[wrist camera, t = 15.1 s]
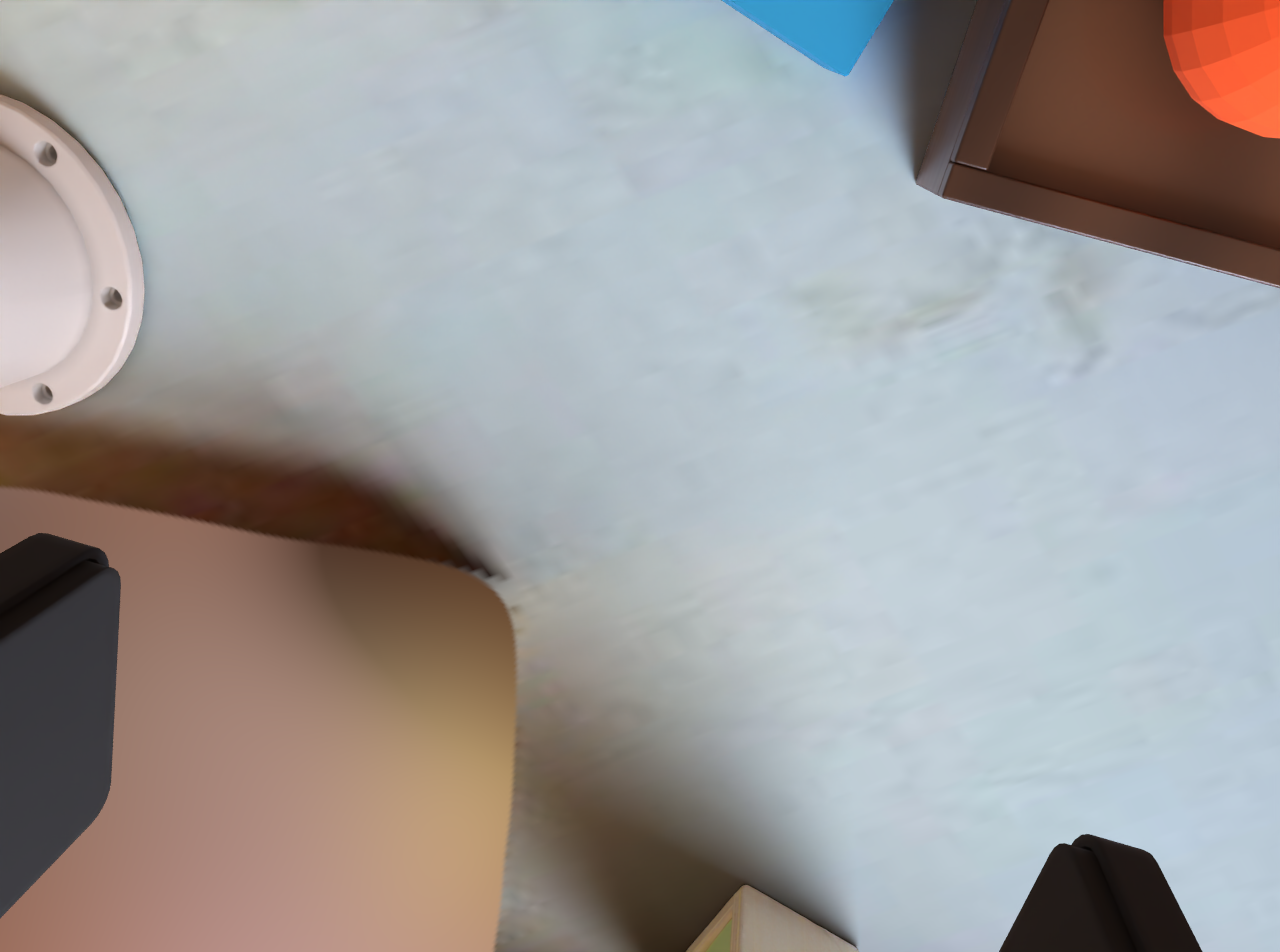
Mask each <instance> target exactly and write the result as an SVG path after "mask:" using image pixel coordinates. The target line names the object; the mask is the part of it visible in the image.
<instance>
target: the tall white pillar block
mask: <svg viewBox="0 0 1280 952" xmlns="http://www.w3.org/2000/svg"><path fill="white" fill-rule="evenodd" d="M686 952H859V951H858V949H857V948H855V947H854V946H853V945H851V944H849V943H848V942H846V941H844V940H842V939H841V938H839V937H837V936H835V935H834V934H832V933H830V932H829V931H827V930H825V929H824V928H822V927H820V926H818V925H816V924H814V923H813V922H811V921H810V920H808V919H807V918H805V917H803V916H801V915H799V914H798V913H796V912H794V911H792V910H791V909H789V908H787V907H785V906H784V905H782V904H780V903H778V902H777V901H775V900H773V899H772V898H770V897H768V896H766V895H765V894H763V893H761V892H759V891H758V890H756V889H754V888H752V887H750V886H749V885H744V886H742V887H741V888H740V889H739V890H738V891H737V892H736V893H735V894H734V895H733V897H732V898H731V899H730V900H729V901H728V902H727V903H726V905H725V906H724V907H723V908H722V909H721V911H720V912H719V913H718V914H717V916H716V917H715V918H714V919H713V920H712V921H711V922H710V924H709V925H708V926H707V927H706V928H705V929H704V931H703V932H702V933H701V934H700V935H699V936H698V938H697V939H696V940H695V941H694V942H693V944H692V945H691V946H690V947H689V948H688V950H687V951H686Z"/></svg>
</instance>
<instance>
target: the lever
mask: <svg viewBox="0 0 1280 952" xmlns="http://www.w3.org/2000/svg"><path fill="white" fill-rule="evenodd" d="M722 1H723V2H725V3H726V4H728V5H729V6H731V7H732V8H734V9H735V10H737V11H738V12H740V13H741V14H743V15H745V16H746V17H748V18H749V19H751V20H752V21H754V22H755V23H757V24H758V25H760V26H761V27H763V28H764V29H766V30H767V31H769V32H770V33H772V34H773V35H775V36H776V37H778V38H779V39H781V40H782V41H784V42H785V43H787V44H789V45H790V46H792V47H793V48H795V49H796V50H798V51H799V52H801V53H802V54H804V55H805V56H807V57H808V58H810V59H811V60H813V61H814V62H816V63H817V64H819V65H820V66H822V67H823V68H826V69H828V70H831V71H833V72H836V73H838V74H841V75H843V76H847V75H849V73H850V71H851V70H852V68H853V66H854V65H855V63H856V61H857V60H858V58H859V57H860V55H861V53H862V52H863V50H864V48H865V47H866V45H867V44H868V42H869V40H870V39H871V37H872V35H873V34H874V32H875V30H876V29H877V27H878V26H879V24H880V22H881V21H882V19H883V17H884V16H885V14H886V12H887V11H888V9H889V8H890V6H891V4H892V3H893V1H894V0H722Z"/></svg>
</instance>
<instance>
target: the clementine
mask: <svg viewBox="0 0 1280 952" xmlns="http://www.w3.org/2000/svg"><path fill="white" fill-rule="evenodd" d="M1163 25H1164V39H1165V43H1166V46H1167V50H1168V53H1169V57H1170V60H1171V64H1172V67H1173V70H1174V72H1175V73H1176V75H1177V77H1178V78H1179V80H1180V81H1181V83H1182V84H1183V86H1184V87H1185V89H1186V90H1187V92H1188V93H1189V95H1190V96H1191V98H1192V99H1193V100H1195V101H1196V102H1197V103H1198V104H1200V105H1201V106H1202V107H1203V108H1204V109H1206V110H1207V111H1208V112H1209V113H1211V114H1212V115H1213V116H1214V117H1216V118H1217V119H1219V120H1221V121H1224V122H1226V123H1229V124H1231V125H1234V126H1236V127H1239V128H1242V129H1244V130H1247V131H1249V132H1252V133H1254V134H1257V135H1260V136H1262V137H1269V138H1280V0H1163Z"/></svg>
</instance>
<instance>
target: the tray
mask: <svg viewBox="0 0 1280 952" xmlns="http://www.w3.org/2000/svg"><path fill="white" fill-rule="evenodd" d="M916 184H917V185H919V186H921V187H923V188H925V189H927V190H929V191H930V192H932V193H934V194H936V195H938V196H940V197H942V198H944V199H948V200H952V201H956V202H959V203H963V204H967V205H971V206H974V207H978V208H982V209H986V210H989V211H993V212H997V213H1001V214H1004V215H1008V216H1012V217H1016V218H1019V219H1023V220H1027V221H1030V222H1034V223H1038V224H1042V225H1045V226H1049V227H1053V228H1057V229H1060V230H1064V231H1068V232H1072V233H1075V234H1079V235H1083V236H1087V237H1090V238H1094V239H1098V240H1102V241H1105V242H1109V243H1113V244H1116V245H1120V246H1124V247H1128V248H1131V249H1135V250H1139V251H1143V252H1146V253H1150V254H1154V255H1158V256H1161V257H1165V258H1169V259H1173V260H1176V261H1180V262H1184V263H1188V264H1191V265H1195V266H1199V267H1202V268H1206V269H1210V270H1214V271H1217V272H1221V273H1225V274H1229V275H1232V276H1236V277H1240V278H1244V279H1247V280H1251V281H1255V282H1259V283H1262V284H1266V285H1270V286H1274V287H1277V288H1280V138H1269V137H1262V136H1260V135H1257V134H1254V133H1252V132H1249V131H1247V130H1244V129H1242V128H1239V127H1236V126H1234V125H1231V124H1229V123H1226V122H1224V121H1221V120H1219V119H1217V118H1216V117H1214V116H1213V115H1212V114H1211V113H1209V112H1208V111H1207V110H1206V109H1204V108H1203V107H1202V106H1201V105H1200V104H1198V103H1197V102H1196V101H1195V100H1193V99H1192V98H1191V96H1190V95H1189V93H1188V92H1187V90H1186V89H1185V87H1184V86H1183V84H1182V83H1181V81H1180V80H1179V78H1178V77H1177V75H1176V73H1175V72H1174V70H1173V67H1172V64H1171V60H1170V57H1169V53H1168V50H1167V46H1166V43H1165V39H1164V25H1163V0H977V3H976V6H975V9H974V12H973V15H972V18H971V21H970V24H969V27H968V30H967V33H966V35H965V38H964V41H963V44H962V47H961V50H960V53H959V56H958V59H957V62H956V65H955V68H954V71H953V74H952V77H951V80H950V83H949V85H948V88H947V91H946V94H945V97H944V100H943V103H942V106H941V109H940V112H939V115H938V118H937V121H936V124H935V127H934V130H933V133H932V135H931V138H930V141H929V144H928V147H927V150H926V153H925V156H924V159H923V162H922V165H921V168H920V171H919V174H918V177H917V180H916Z"/></svg>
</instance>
